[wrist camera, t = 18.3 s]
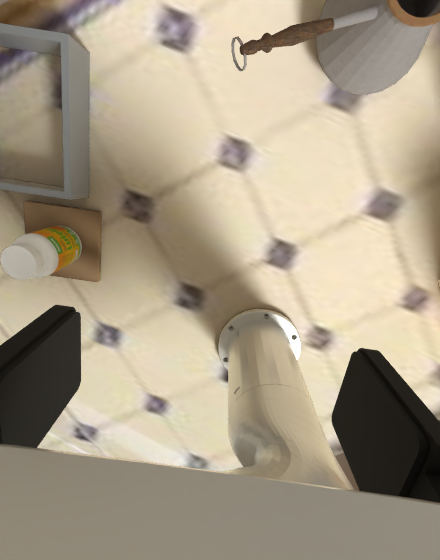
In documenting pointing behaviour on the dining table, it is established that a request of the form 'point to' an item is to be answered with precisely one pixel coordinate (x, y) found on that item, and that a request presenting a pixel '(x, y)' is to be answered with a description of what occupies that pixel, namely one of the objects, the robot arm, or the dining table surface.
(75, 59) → the bin
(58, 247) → the supplement bottle
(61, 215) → the walnut board
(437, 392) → the dining table surface
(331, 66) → the coffee pot
